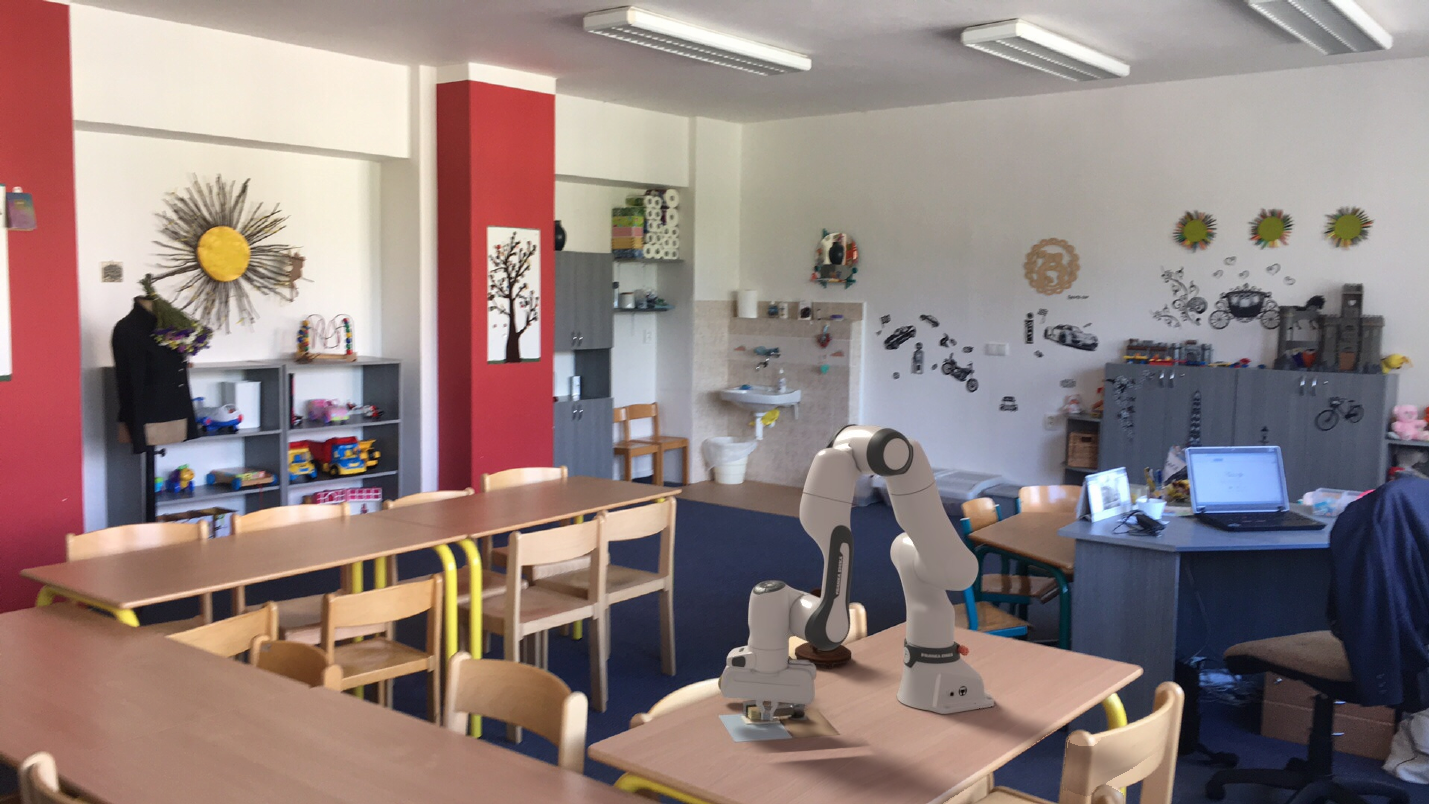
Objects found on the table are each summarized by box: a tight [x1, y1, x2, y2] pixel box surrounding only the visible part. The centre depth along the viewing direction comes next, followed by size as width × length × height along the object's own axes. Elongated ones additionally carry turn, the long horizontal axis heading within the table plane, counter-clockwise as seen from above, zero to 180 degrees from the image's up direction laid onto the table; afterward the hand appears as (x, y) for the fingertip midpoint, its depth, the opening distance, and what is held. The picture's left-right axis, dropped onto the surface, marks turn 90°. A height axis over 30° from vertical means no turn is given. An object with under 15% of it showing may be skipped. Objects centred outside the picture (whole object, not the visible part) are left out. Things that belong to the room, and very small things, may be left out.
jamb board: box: [778, 708, 841, 739], centre depth 234 cm, size 10×15×2 cm, turn 13°
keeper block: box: [742, 700, 757, 717], centre depth 237 cm, size 4×2×3 cm, turn 103°
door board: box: [718, 713, 793, 743], centre depth 231 cm, size 12×15×2 cm
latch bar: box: [748, 703, 806, 719], centre depth 235 cm, size 13×3×3 cm, turn 107°
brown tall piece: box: [794, 587, 852, 670], centre depth 281 cm, size 15×15×20 cm
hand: (767, 719), depth 232 cm, fingers closed
